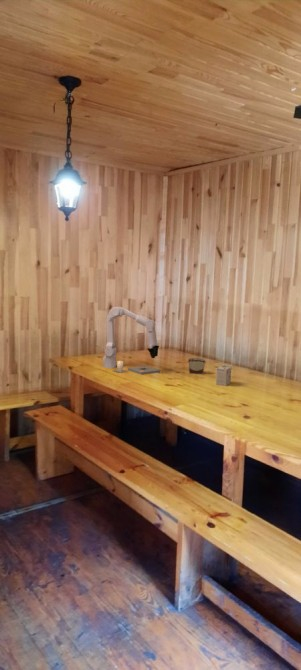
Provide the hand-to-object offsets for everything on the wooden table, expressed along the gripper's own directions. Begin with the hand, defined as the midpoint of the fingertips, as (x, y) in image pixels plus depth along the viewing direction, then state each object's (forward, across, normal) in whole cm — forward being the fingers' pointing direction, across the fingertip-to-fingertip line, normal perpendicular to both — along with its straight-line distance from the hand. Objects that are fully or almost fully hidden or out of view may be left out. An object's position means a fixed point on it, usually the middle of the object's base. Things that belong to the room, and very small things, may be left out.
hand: (154, 357), depth 335 cm
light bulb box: (+19, -16, -47) cm, 53 cm away
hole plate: (+9, -4, +8) cm, 13 cm away
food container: (+15, +10, -26) cm, 31 cm away
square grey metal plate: (+7, -12, +22) cm, 26 cm away
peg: (+6, -12, +22) cm, 26 cm away
